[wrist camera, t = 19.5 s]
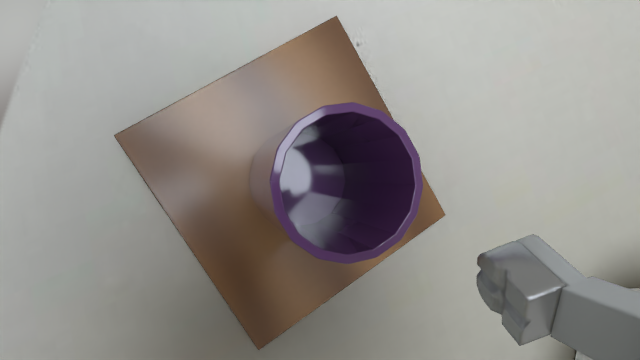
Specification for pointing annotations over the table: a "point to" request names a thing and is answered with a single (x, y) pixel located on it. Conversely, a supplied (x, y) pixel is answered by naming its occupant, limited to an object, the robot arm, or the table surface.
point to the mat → (233, 176)
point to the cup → (339, 182)
